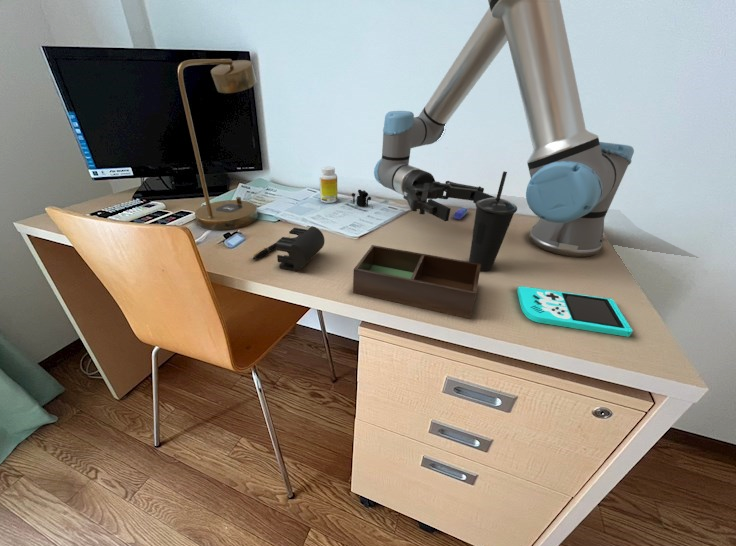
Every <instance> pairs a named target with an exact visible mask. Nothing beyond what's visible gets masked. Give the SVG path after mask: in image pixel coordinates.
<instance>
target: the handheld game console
mask: <svg viewBox="0 0 736 546" xmlns="http://www.w3.org/2000/svg"><path fill="white" fill-rule="evenodd" d="M516 293H517V297H518V301H519V306H520V310H521V311H522V313H523V314H524V316H525V317H526V318H527V319H528V320H530V321H532V322H534V323H539V324H545V325H551V326H557V327H565V328H571V329H577V330H582V331H587V332H595V333H600V334H601V333H602V334H608V335H613V336H614V335H615V336H619V337H620V336H621V337H627V338H629V337H630V336H631V335H632V334H633V329H632V327H631V325H630V324H629V322H628V320H627V319H626V318H625V316H624V314H623V313H622V311H621V309H620V308H619V306H618V305H617V303H616V301H615V300H614V299H612V298H608V297H601V296H594V295H586V294H579V293H572V292H566V291H565V292H564V291H559V290H552V289H551V290H550V289H544V288H536V287H529V286H521V285H520V286H518V288H517V291H516Z"/></svg>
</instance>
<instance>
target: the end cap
mask: <svg viewBox="0 0 736 546" xmlns="http://www.w3.org/2000/svg"><path fill="white" fill-rule="evenodd" d="M288 233H289V235H296V237H290V238H287V237H288V236H287V237H286V236H282V237H281V238H280V239H278V240H277V241H276V242H275V243H276V248H275V249H276V251H278V252H285V253H287V254H288V255H286V254H284V255H282V254H278V255H277V256H276V257H277V262H278V263H279V264H278V265H279V266H278V267H279V268H280V269H282V270H287V271H291V272H298V271H300V270H302V269H303V268H304V267H305V266H306V265H307V264H308V263H309V262H310V261H311V260H312V259H313V258H314V257H315V256H316V255H317V254H318V253H319V252H320V251H321V250H322V249H323V247H324V246H325V236H324V234H323V232H322V231H321V230H320V229H319V228H318V227H316V226H313V225H311V226H309V228H308V229H306V228H301V227H293V228H291V230H289V231H288Z"/></svg>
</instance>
